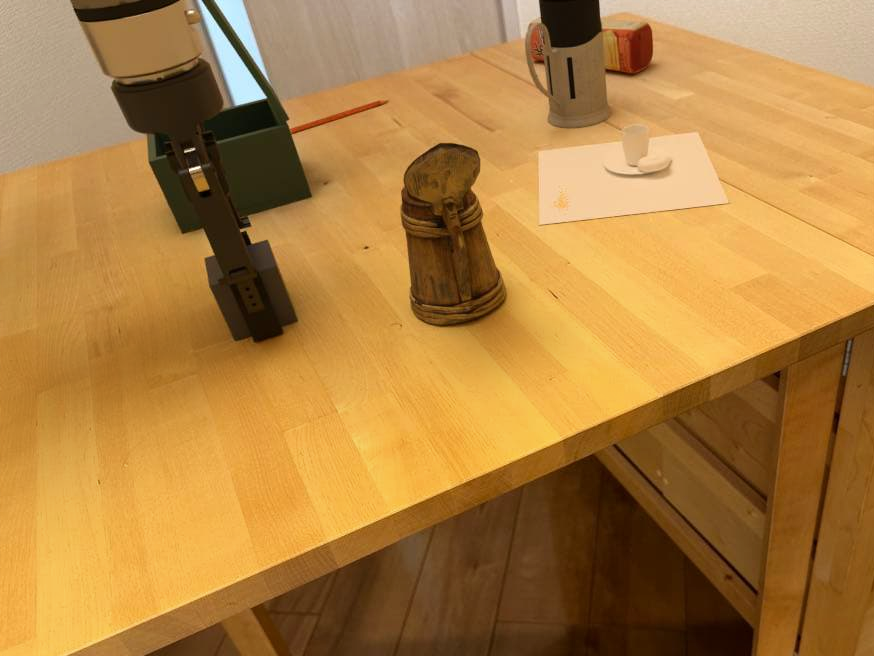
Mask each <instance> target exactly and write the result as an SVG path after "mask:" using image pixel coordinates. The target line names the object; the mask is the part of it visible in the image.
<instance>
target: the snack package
mask: <svg viewBox="0 0 874 656" xmlns="http://www.w3.org/2000/svg"><path fill="white" fill-rule="evenodd" d="M600 19H601V18H600ZM601 22H602V30H603V44H604V60H605V70H609V71H614V72H615V71H617V72H622V73H628V74H637V73H639V72H640V71H642V70H644V69H646V68H647V67H648V66H649V64H650V63H651V62H652V59H653V57H654V37H653V30H652V26H651V24H649V22H647V21H644V20H623V19H601ZM533 23H541V16H539V17H537V18H536V19H534V20H532V21H531V22H530V23H529V24H528V26H527V29H528V28H529V27H530V26H531V25H532V24H533ZM542 38H543V33H542V30H541V29H540V27H539V26H537V27H536V28H535V29H534V30H533V33H532V35H531V54H532V60H535V61H539V62H541V61H543V62H544V55H543V46H542Z"/></svg>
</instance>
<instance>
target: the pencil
mask: <svg viewBox="0 0 874 656" xmlns="http://www.w3.org/2000/svg"><path fill="white" fill-rule="evenodd" d="M389 101H390V99H380V100H376V101H373V102H370V103H367V104H363V105H360V106H357V107H353V108H350V109H348V110H345V111H341V112H338V113H336V114H332V115H329V116H326V117H322V118H320V119H316V120H313V121H311V122H308V123H304V124H301V125H298V126H295V127H292V128H289V129H290V132H291V135H294V134H296V133H300V132H303V131H306V130H309V129H312V128H316V127H319V126H321V125H324V124H327V123H328V124H329V123H330V122H334V121H337V120H339V119H343V118H346V117H349V116H352V115H355V114H358V113H362V112H365V111H368V110H371V109H373V108H374V109H375V108H377V107H380V106H383V105H384V104H386V103H388V102H389Z"/></svg>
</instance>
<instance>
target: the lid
mask: <svg viewBox="0 0 874 656" xmlns="http://www.w3.org/2000/svg"><path fill="white" fill-rule="evenodd" d="M200 1H201V2H202V4H203V5H204V7H205V8H206V10H207V11H208V12H209V14H210V16H211V17H212V18H213V20H214V21H215V23H216V25H217V26H218V27H219V29H220V30H221V32H222V33H223V35H224V36H225V39H227V41H228V42H229V44H230V46H231V47H232V48H233V49H234V51H235V53H236V55H238V57H239V58H240V60H241V61H242V63H243V64H244V66H245V68H246V69H247V70H248V72H249V73H250V75H251V76H252V78H253V79H254V81H255V83H256V84H257V85H258V87H259V88H260V89H261V91H262V93H263V94H264V96H265V98H268V100H269V101H270V103H271V104H272V106H273V107H274V109H275V110H276V112H277V113H278V115H279V116H280V118H281V119H282V121H283V122H288V121H290V117H289V115H288V113H287V112H286V109H285V107H284V106H283V104H282V103H281V100H280V99H279V97H278V95H277V93H276V91H275V90H274V88H273V87H272V85H271V84H270V81H268V79H267V77H266V76H265V75H264V73H263V72H262V70H261V69H260V67H259V66H258V64H257V62H256V61H255V59H254V58H253V56H252V55H251V53H250V52H249V51H248V49H247V47H246V46H245V44H244V42H243V41H242V40H241V38H240V37H239V35H238V34H237V32H236V31H235V29H234V28H233V26H232V25H231V23H230V21H228V20H229V19H227V17H226V16H225V14H224V13H223V11H222V9H220V6H219V5H218V4H217V2H216V1H215V0H200Z"/></svg>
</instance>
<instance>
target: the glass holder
mask: <svg viewBox="0 0 874 656" xmlns="http://www.w3.org/2000/svg"><path fill="white" fill-rule="evenodd" d="M538 5H539V6H538V7H539V14H540V16H539V17H541V23H533V24H532V25H531V26H530V27H529V28H528V27H527V31H526V33H525V39H524V51H525V58H526V64H527V66H528V71H529V73H530V76H531V79H532V81H533V83H534V85H535V86H536V89H537V90H538V91H540V93H542V94H543V95H544V96H545V97H546V98H548V105H549V106H548V107H549V108H548V114H547V122H548V123H549V124H550V125H552V126H554V127H558V128H566V129H576V128H577V129H578V128H585V127H590V126H594V125H597V124H599V123H601V122H604V121H606V120H608V118H610V116H611V115H612V109H611V107H610V105H609V103H608V93H607V79H606V77H607V76H606V69H605V60H604V44H603V30H602V22H601V7H600V5H601V4H600V0H538ZM537 26H539V27H540V29H541V30H542V33H543V38H542V46H543V55H544V61H543V63H544V71H545V80H546V81H545V82H546V88H547V89H546V88H545V87H544V86H543V84H542V82H541V81H540V79H539V77H538V74H537V72H536V68H535V65H534V61H533V60H534V59H533V58H532V54H531V35H532V33H533V30H534V29H535V28H536V27H537Z"/></svg>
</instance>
